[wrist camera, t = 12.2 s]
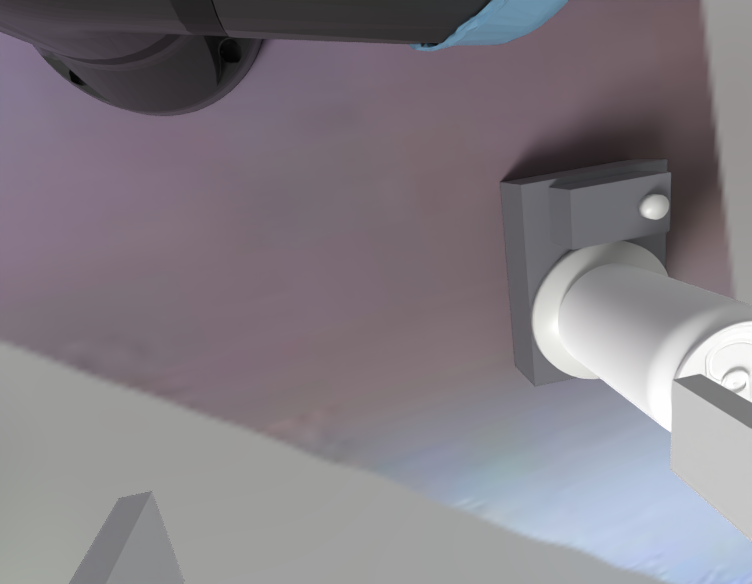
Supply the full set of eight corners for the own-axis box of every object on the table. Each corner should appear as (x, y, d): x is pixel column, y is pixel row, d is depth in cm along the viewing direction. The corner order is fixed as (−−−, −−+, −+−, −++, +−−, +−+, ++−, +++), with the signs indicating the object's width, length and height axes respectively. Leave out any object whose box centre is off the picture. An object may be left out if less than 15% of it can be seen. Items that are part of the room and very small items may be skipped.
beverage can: (655, 252, 35) (820, 298, 23) (653, 351, 37) (802, 437, 26) (550, 271, 34) (667, 327, 23) (555, 370, 37) (663, 467, 25)
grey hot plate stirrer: (500, 182, 37) (545, 188, 30) (631, 159, 38) (709, 159, 30) (515, 365, 42) (558, 410, 34) (632, 341, 42) (699, 380, 35)
